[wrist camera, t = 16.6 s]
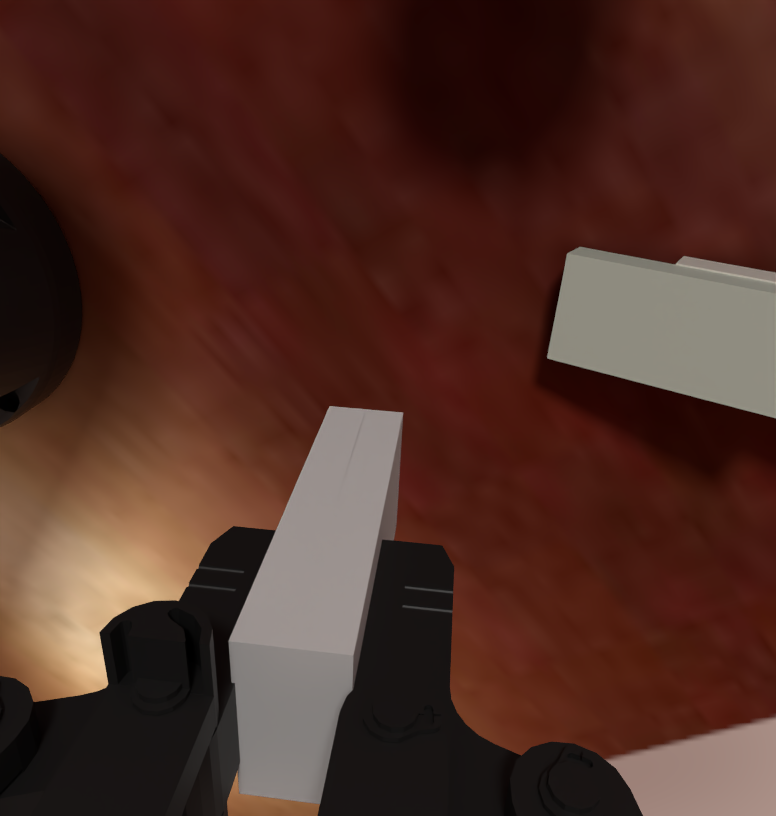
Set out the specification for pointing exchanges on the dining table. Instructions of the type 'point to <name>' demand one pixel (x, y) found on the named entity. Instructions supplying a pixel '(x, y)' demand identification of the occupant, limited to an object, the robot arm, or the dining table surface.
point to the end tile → (669, 328)
